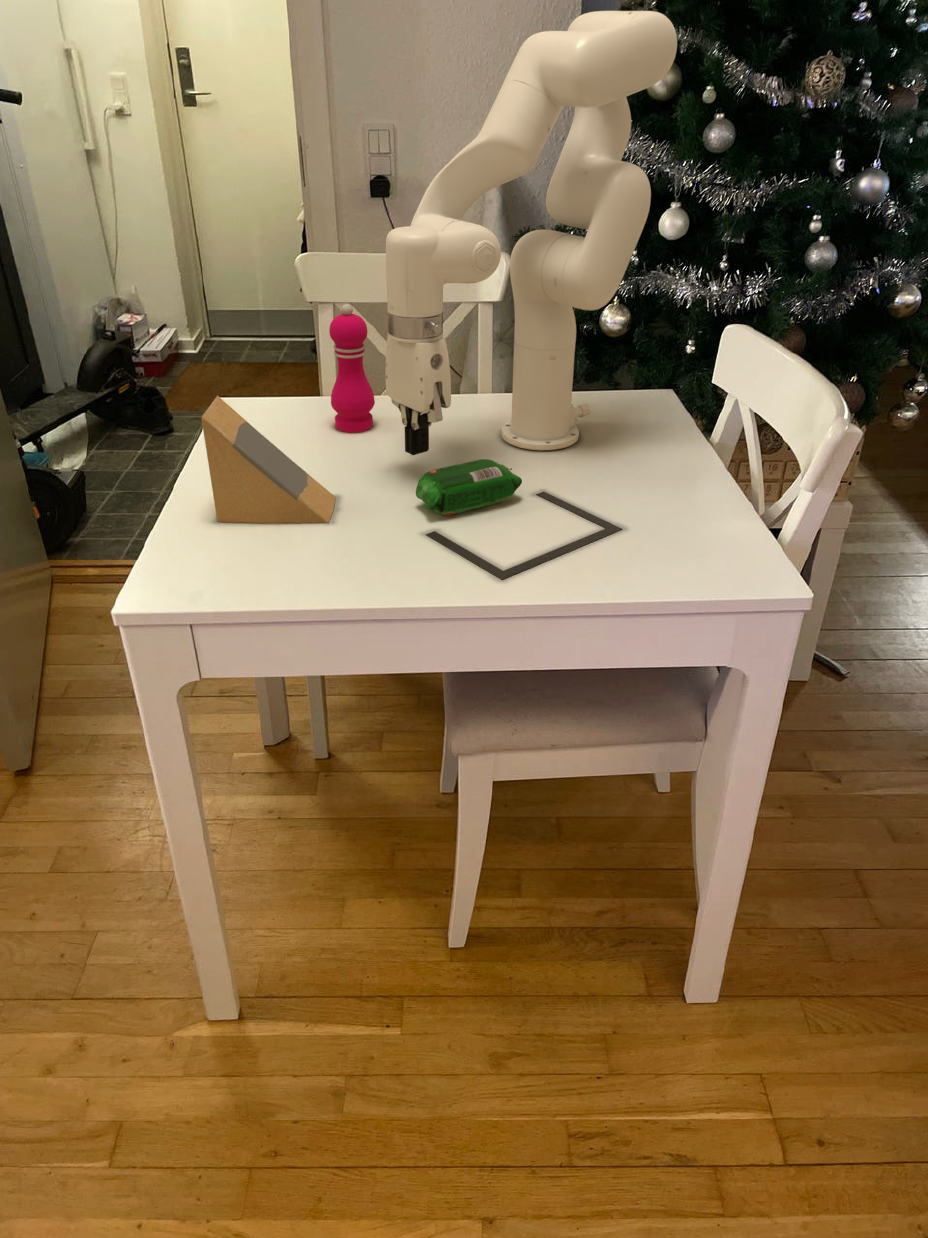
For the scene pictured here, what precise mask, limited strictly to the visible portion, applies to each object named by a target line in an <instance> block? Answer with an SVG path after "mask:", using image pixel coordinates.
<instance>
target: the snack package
mask: <svg viewBox="0 0 928 1238" xmlns="http://www.w3.org/2000/svg"><path fill="white" fill-rule="evenodd" d="M512 471H513V468H512V467H511V468H508V467H507V466H505V465H504V464H501V463H499V462H497V461H495V460H492V459H489V458H487V459H486V458H482V459H476V460H471V461H468V462H467V461H466V462H462V463H456V464H452V465H448V466H444V467H439V468H435V469H431V470H429V471H427V472H425V473H423V474H422V475H421V476H420V478H419V479H418V481H417V485H416V488H415V496H416V498H417V499H419V500H421V501H422V502H423V503H424V505H425V508H426V509H427V510H429V511H434V512H435V513H436V514H438V515H440V516H441V515H442V516H452V515H456V514H461V513H464V512H467V511H471V510H476V509H480V508H483V507H488V506H492V505H494V504H498V503H502V502H505V501H507V500H508V499H509V498H511V497H512V496H513V495H514V493H515V492H516V491H517V490H518V488H519V487H521V485H522V484H523V479H522V478H521V476H519V475H517V474H515V473H513V472H512Z"/></svg>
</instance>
